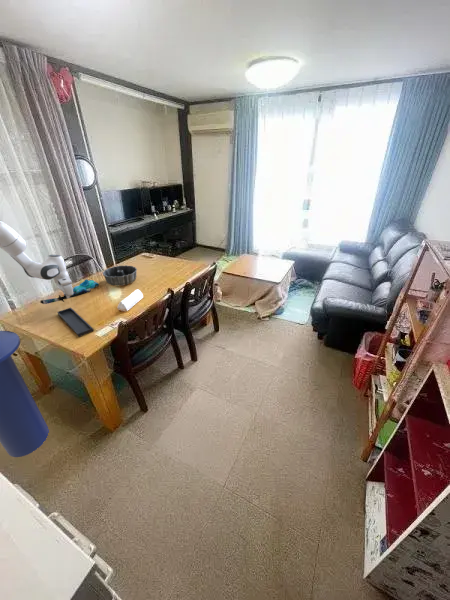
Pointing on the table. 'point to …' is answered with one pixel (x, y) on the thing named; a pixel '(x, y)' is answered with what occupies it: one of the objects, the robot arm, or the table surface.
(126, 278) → the bundt pan
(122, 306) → the white triangular prism
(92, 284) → the toy car
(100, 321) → the table surface
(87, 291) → the knife
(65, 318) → the knife tray
